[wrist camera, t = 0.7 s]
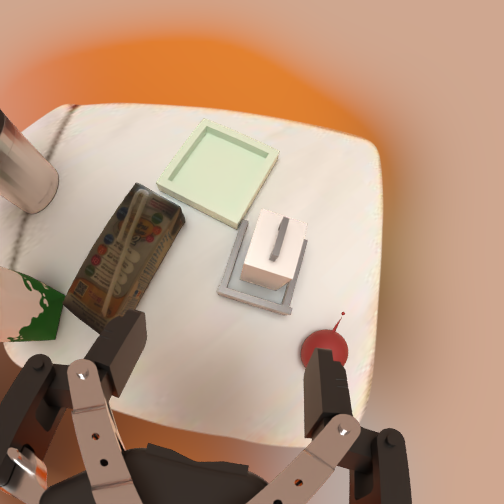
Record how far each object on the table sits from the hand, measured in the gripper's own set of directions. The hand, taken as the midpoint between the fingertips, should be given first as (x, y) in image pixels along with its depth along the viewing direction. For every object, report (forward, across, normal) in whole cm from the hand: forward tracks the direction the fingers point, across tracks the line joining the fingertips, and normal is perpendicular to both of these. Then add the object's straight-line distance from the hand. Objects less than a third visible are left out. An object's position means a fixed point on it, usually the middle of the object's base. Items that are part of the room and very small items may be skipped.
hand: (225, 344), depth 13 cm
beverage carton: (+22, +16, +12) cm, 30 cm away
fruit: (+20, -12, +17) cm, 29 cm away
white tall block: (+25, -2, +10) cm, 27 cm away
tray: (+33, +7, 0) cm, 34 cm away
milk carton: (+15, +29, +20) cm, 38 cm away
